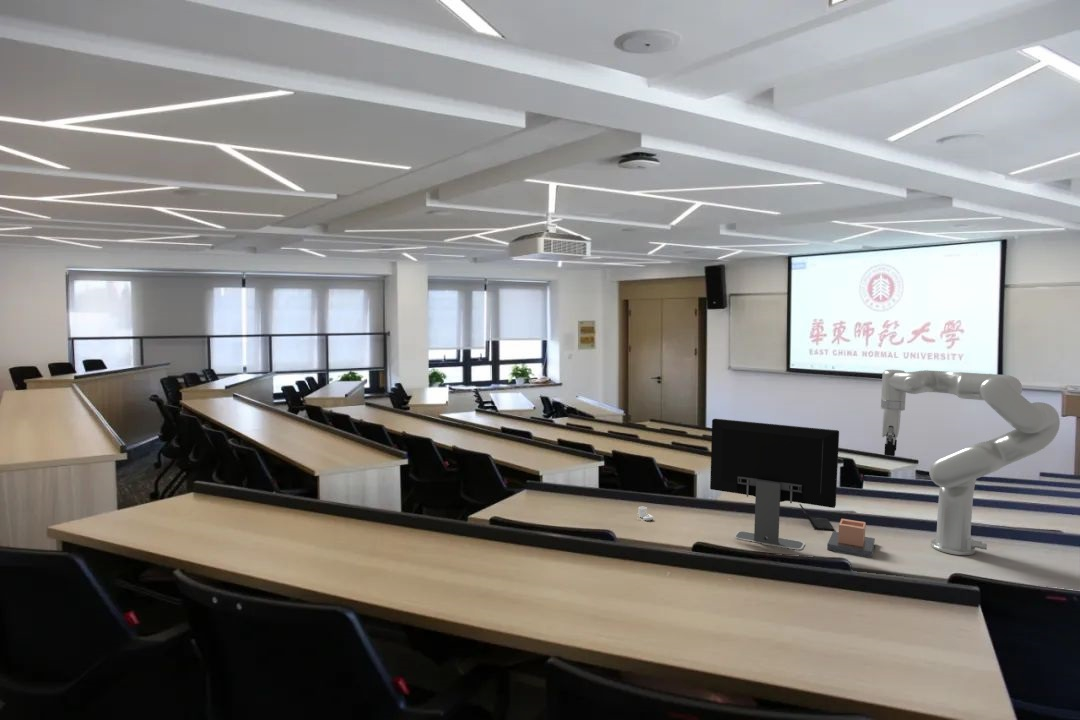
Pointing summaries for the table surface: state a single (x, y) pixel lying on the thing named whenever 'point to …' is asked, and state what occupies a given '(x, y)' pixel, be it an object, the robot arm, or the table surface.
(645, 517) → the teacup and saucer
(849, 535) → the pink storage bin
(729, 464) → the computer monitor
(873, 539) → the base plate
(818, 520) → the handheld gaming console
